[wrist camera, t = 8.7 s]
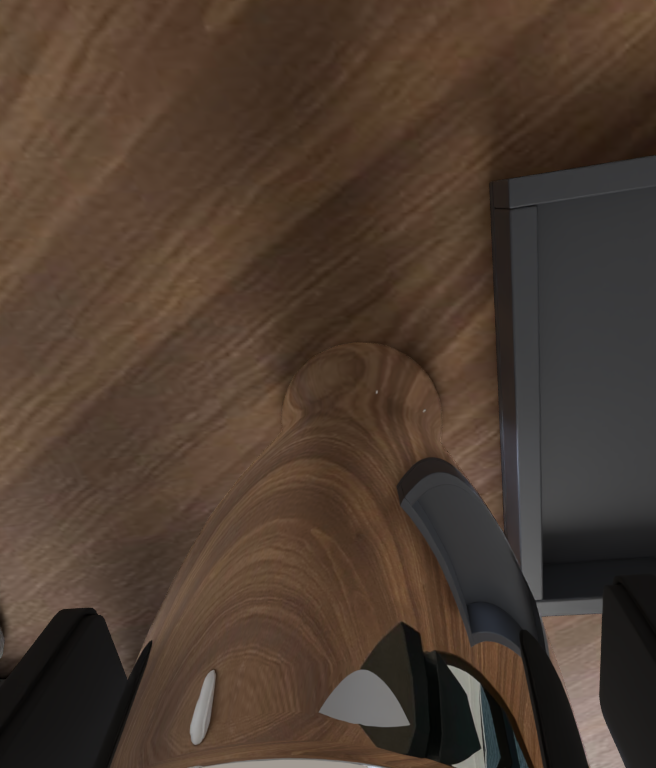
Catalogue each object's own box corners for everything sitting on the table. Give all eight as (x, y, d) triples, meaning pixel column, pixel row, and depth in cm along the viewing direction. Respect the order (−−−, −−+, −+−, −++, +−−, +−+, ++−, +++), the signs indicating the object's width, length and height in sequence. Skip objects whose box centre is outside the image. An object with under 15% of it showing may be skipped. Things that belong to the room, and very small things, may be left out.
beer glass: (438, 503, 20) (581, 1163, 6) (269, 485, 21) (56, 1072, 7) (466, 337, 18) (796, 817, 4) (275, 320, 18) (-38, 704, 4)
